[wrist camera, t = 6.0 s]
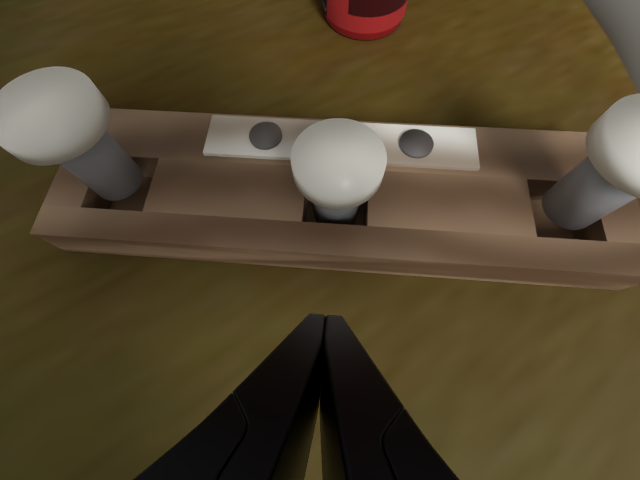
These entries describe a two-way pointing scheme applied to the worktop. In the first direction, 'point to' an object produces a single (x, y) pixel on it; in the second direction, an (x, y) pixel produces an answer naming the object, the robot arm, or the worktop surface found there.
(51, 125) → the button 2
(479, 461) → the worktop surface
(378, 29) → the canned food
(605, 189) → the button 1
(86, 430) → the worktop surface
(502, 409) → the worktop surface
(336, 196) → the middle button
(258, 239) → the console
